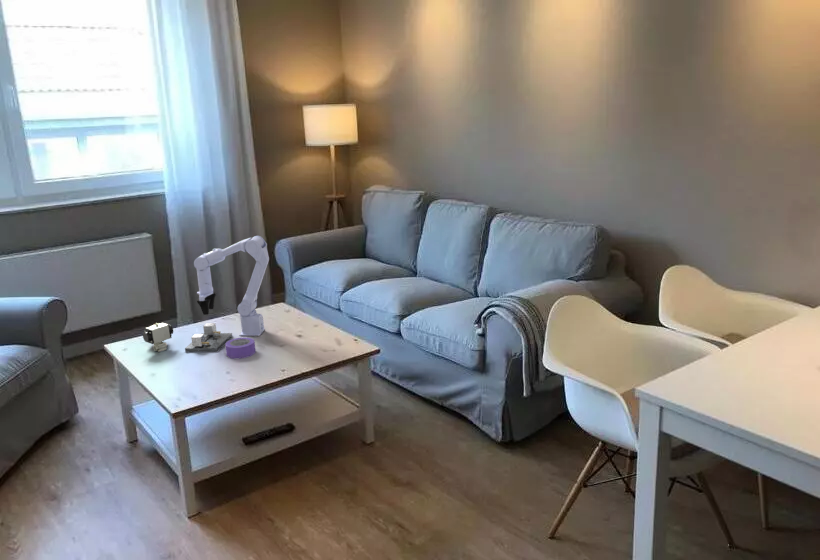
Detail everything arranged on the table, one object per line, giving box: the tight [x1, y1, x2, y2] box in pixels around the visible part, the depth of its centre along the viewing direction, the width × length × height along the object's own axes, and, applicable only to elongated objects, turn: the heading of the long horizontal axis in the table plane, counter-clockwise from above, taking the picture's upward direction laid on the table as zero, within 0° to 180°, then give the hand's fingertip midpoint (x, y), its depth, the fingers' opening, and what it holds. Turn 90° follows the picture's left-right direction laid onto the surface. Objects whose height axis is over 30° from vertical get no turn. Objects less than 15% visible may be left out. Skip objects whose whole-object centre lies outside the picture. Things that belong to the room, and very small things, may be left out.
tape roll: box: [224, 336, 256, 359], centre depth 287 cm, size 12×12×5 cm
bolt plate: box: [184, 332, 233, 353], centre depth 299 cm, size 14×18×6 cm
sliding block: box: [203, 322, 221, 335], centre depth 305 cm, size 6×4×4 cm, turn 84°
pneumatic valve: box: [142, 322, 174, 353], centre depth 294 cm, size 6×12×12 cm, turn 140°
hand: (208, 311), depth 309 cm, fingers open, 7 cm apart
